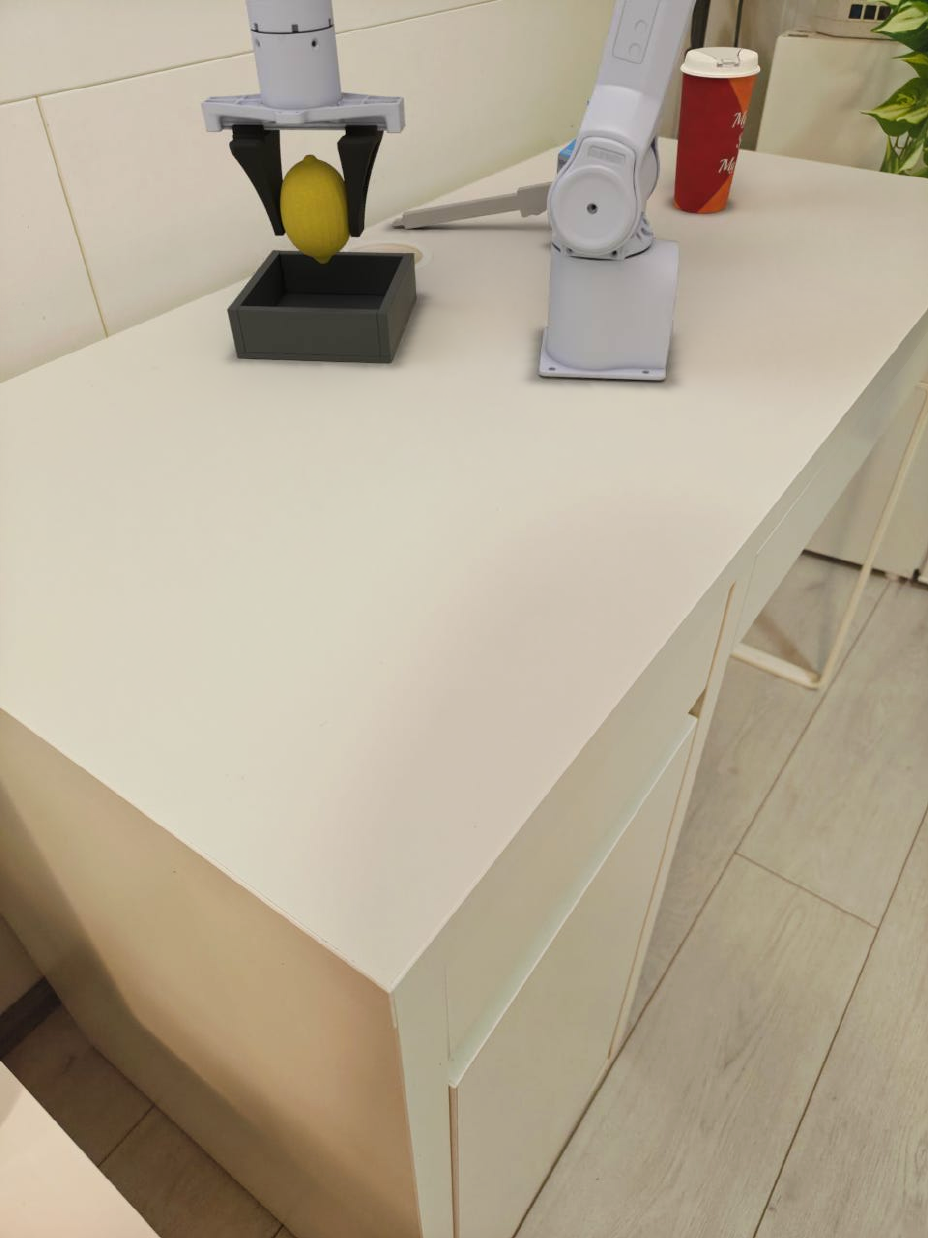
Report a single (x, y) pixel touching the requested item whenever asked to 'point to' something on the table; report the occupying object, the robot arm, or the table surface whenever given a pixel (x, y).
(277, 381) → the table surface
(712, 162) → the paper cup
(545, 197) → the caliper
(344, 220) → the lemon
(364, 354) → the dark gray open box
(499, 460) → the table surface
